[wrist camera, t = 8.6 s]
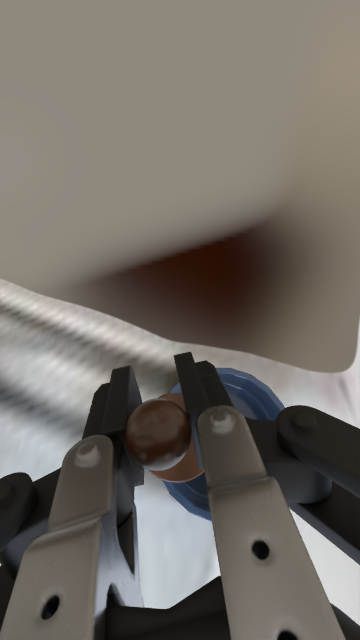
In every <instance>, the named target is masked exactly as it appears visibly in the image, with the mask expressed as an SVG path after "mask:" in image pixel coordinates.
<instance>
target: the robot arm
mask: <svg viewBox="0 0 360 640" xmlns="http://www.w3.org/2000/svg"><path fill="white" fill-rule="evenodd" d="M174 360H175V364H176V369H177V373H178V378H179V382H180V387H181V391H182V396H183V400H184V405H185V409H186V414H187V417H188V419H189V421H190V424H191V431H192V440H193V445H194V449H195V454H196V458H197V463H198V467H199V470H202V469H204V470H205V476H206V482H207V493H208V499H209V506H210V512H211V518H212V524H213V530H214V536H215V542H216V548H217V555H218V561H219V567H220V573H221V576H218V577H216V578H215V579H213V580H212V581H210V582H209V583H207V584H206V585H204V586H203V587H201V588H200V589H198V590H197V591H195V592H194V593H192V594H191V595H189V596H188V597H186V598H185V599H183V600H182V601H180V602H179V603H177V604H176V605H174V606H173V607H171V608H168V609H154V608H144V602H143V597H142V592H141V586H140V577H139V556H138V535H137V515H136V506H135V503H134V487H135V486H139V485H143V484H144V468H143V467H142V466H140V465H139V464H137V463H136V462H135V461H134V460H133V459H132V457H131V456H130V454H129V453H128V450H127V447H126V443H125V428H126V424H127V421H128V419H129V417H130V415H131V414H132V412H133V411H134V410H135V409H136V408H137V407H138V406H139V405H140V404H142V399H141V395H140V392H139V388H138V385H137V381H136V378H135V375H134V371H133V368H132V366H131V365H130V366H125V367H121V368H116V369H113V370H112V375H111V380H110V383H106V384H102V385H101V386H100V387H99V388H98V390H97V391H96V392H95V393H94V397H93V400H92V405H91V408H90V413H89V415H88V419H87V423H86V426H85V430H84V434H83V437H82V440H81V441H79V442H78V443H76V444H75V445H74V446H73V447H72V448H71V449H70V450H69V451H68V452H67V454H66V455H65V457H64V460H63V463H62V467H61V468H59V469H57V470H56V471H54V472H52V473H50V474H48V475H46V476H44V477H42V478H40V479H38V480H36V481H34V482H33V481H32V480H31V478H30V476H29V475H28V474H26V473H22V472H18V473H13V474H10V475H7V476H5V477H3V478H1V479H0V563H1V567H0V640H360V626H359V625H358V624H357V623H355V622H354V621H353V620H352V619H351V618H350V617H348V616H347V615H346V614H345V613H343V612H342V611H341V610H340V609H338V608H337V607H336V606H334V605H333V604H331V603H330V602H329V600H328V597H327V595H326V593H325V591H324V588H323V586H322V584H321V581H320V579H319V577H318V574H317V572H316V570H315V567H314V565H313V563H312V560H311V558H310V556H309V553H308V551H307V549H306V547H305V544H304V542H303V540H302V537H301V535H300V533H299V530H298V528H297V526H296V523H295V521H294V519H293V516H292V514H291V512H290V509H291V510H292V511H294V512H295V513H296V514H297V515H299V516H300V517H301V518H302V519H304V520H305V521H306V522H307V523H308V524H310V525H311V526H312V527H313V528H315V529H316V530H317V531H318V532H320V533H321V534H322V535H323V536H325V537H326V538H327V539H328V540H329V541H331V542H332V543H333V544H334V545H336V546H337V547H338V548H339V549H341V550H342V551H343V552H344V553H346V554H347V555H348V556H349V557H350V558H352V559H353V560H354V561H355V562H357V563H358V564H359V565H360V429H359V428H357V427H355V426H352V425H350V424H348V423H346V422H344V421H342V420H339V419H337V418H335V417H333V416H331V415H328V414H326V413H324V412H322V411H320V410H318V409H315V408H312V407H309V406H301V405H297V406H290V407H287V408H285V409H283V410H282V411H280V412H279V414H278V415H277V418H276V420H255V419H251V418H247V417H245V416H244V415H243V414H242V413H241V412H240V411H239V410H238V409H236V408H235V407H234V406H233V404H232V401H231V399H230V397H229V395H228V393H227V391H226V389H225V387H224V385H223V383H222V382H221V379H220V377H219V375H218V373H217V370H216V368H215V366H214V365H212V364H211V363H209V362H208V361H201V362H197V363H195V362H194V359H193V356H192V354H191V352H187V353H182V354H178V355H174ZM289 508H290V509H289Z"/></svg>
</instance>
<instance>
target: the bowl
mask: <svg viewBox="0 0 360 640" xmlns="http://www.w3.org/2000/svg"><path fill="white" fill-rule="evenodd" d="M216 370H217V373H218V375H219V377H220V379H221V382H222V383H223V385H224V387H225V389H226V391H227V393H228V395H229V397H230V399H231V401H232V404H233V406H234V407H235V408H236V409H238V410H239V411H240V412H241V413H242V414H243V415H244V416H245V417H247V418H251V419H255V420H276V418H277V415H278V414H279V412H280V411H282V410H283V409H285V407H284V405H283V404H282V402H281V401H280V400H279V399H278V398H277V396H276V395H275V394H274V393H273V391H272V390H271V389H270V388H269V387H268V386H266V385H265V384H264V383H262V382H261V381H259V380H258V379H256V378H255V377H253V376H252V375H250V374H247V373H244V372H241V371H238V370H235V369H232V368H216ZM170 393H182V391H181V387H180V382H179V383H177V384H176V385H175V386H174V387H173V388H172V389H171V391H170V392H169V393H168V394H170ZM162 481H163V482H164V484H165V486H166V487H167V489H168V491H169V493H170V494H171V496H172V497H173V498H174V499H176V500H177V501H178V502H179V503H180V504H181V505H182V506H183V507H184V508H185V509H187V510H188V511H189V512H190V513H192V514H194V515H196V516H199V517H201V518H203V519H206V520H208V521H211V522H212V518H211V512H210V506H209V499H208V493H207V482H206V476H205V471H204V472H203V473H202V474H200V475H199V476H198V477H196V478H194V479H192V480H189V481H185V482H177V483H175V482H168V481H165V480H162Z"/></svg>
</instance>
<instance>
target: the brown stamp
mask: <svg viewBox="0 0 360 640" xmlns="http://www.w3.org/2000/svg"><path fill="white" fill-rule="evenodd" d="M125 443H126V447H127V450H128V453H129V454H130V456H131V457H132V459H133V460H134V461H135V462H136V463H137V464H139V465H140V466H142V467H143V468H146V469H148V470H149V471H150V472H151V473H152V474H153V475H155V476H156V477H158V478H160V479H162V480H165V481H168V482H175V483H177V482H185V481H189V480H192V479H194V478H196V477H198V476H199V475H200V474H202V473H203V472H204V471H205V470H204V469H202V470H199V467H198V463H197V458H196V454H195V449H194V445H193V440H192V431H191V424H190V421H189V419H188V417H187V414H186V409H185V405H184V400H183V396H182V393H170V394H166V395H163V396H161V397H159V398H157V399H151V400H148V401H146V402H144V403H142V404H140V405H139V406H138V407H137V408H136V409H135V410H134V411H133V412H132V414H131V415H130V417H129V419H128V421H127V424H126V428H125Z"/></svg>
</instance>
